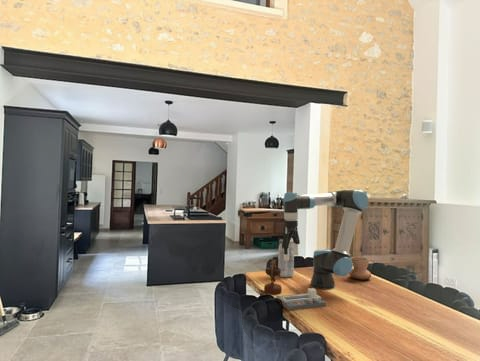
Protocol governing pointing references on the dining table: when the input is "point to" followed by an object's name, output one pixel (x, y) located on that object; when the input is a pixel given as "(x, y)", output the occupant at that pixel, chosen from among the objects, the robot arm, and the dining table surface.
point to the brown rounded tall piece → (273, 279)
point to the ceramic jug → (360, 268)
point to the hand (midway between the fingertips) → (291, 257)
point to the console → (301, 301)
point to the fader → (311, 292)
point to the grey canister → (286, 265)
